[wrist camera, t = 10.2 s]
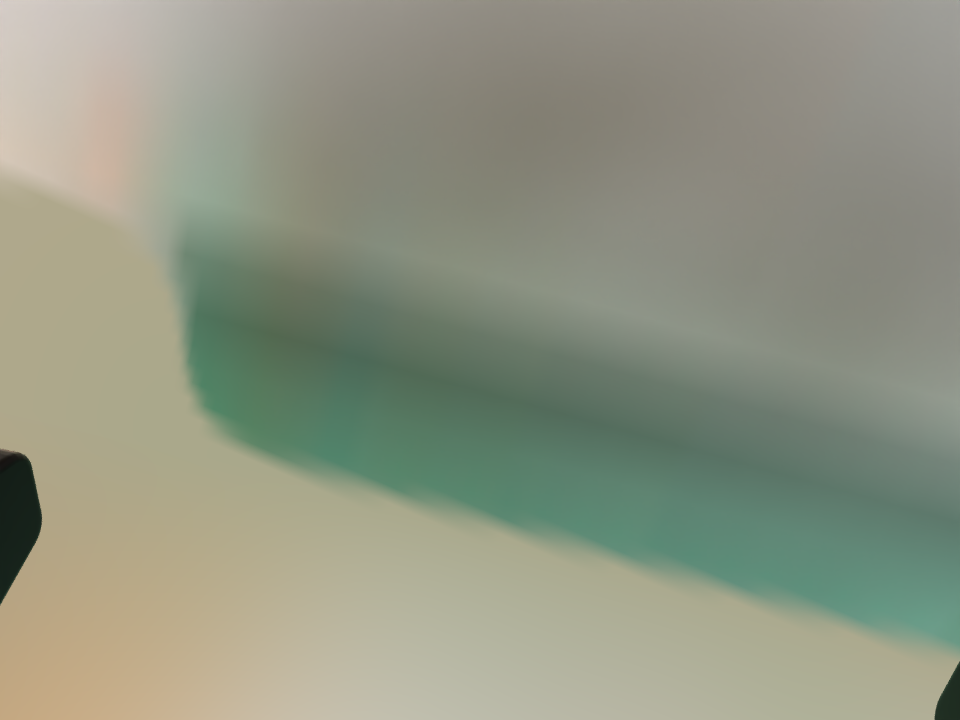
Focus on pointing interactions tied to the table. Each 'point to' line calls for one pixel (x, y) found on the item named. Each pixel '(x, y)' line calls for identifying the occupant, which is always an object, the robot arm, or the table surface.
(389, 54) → the table surface
